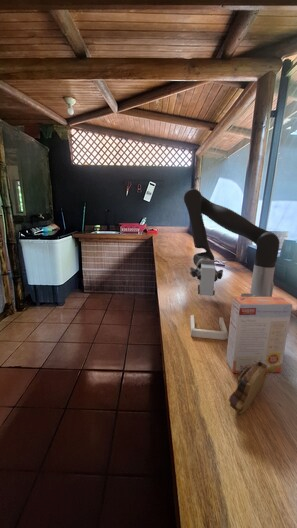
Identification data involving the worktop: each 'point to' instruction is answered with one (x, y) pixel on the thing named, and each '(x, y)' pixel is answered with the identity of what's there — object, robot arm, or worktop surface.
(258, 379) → the wooden carving
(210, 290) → the grey tall block
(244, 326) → the cracker box
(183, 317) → the worktop surface
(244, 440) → the worktop surface
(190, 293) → the worktop surface
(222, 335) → the bay
